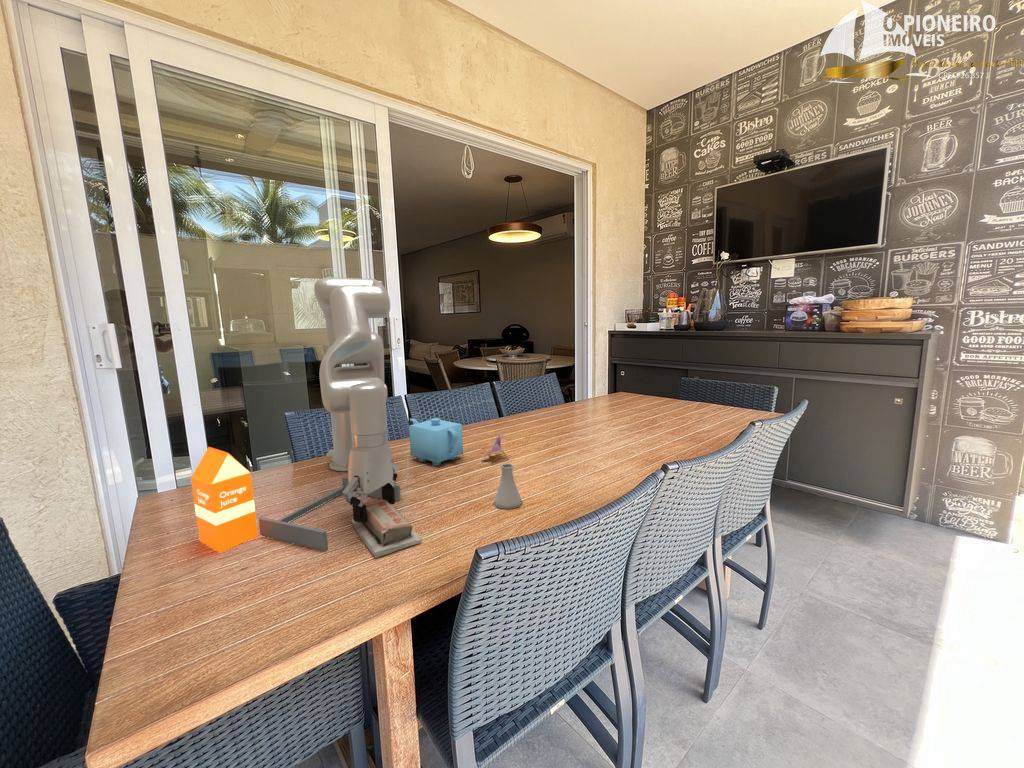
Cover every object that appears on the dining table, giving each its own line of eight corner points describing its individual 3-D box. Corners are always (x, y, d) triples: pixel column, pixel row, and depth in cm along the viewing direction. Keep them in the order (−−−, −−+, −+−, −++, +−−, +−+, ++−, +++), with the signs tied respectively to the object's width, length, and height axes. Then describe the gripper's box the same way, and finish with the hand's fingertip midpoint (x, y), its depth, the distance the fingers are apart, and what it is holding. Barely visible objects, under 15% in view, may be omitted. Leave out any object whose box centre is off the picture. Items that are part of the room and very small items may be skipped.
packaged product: (348, 504, 96) (391, 493, 102) (349, 524, 97) (392, 512, 103) (373, 537, 82) (421, 522, 88) (375, 560, 83) (422, 544, 88)
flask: (492, 498, 110) (491, 461, 108) (520, 496, 110) (519, 459, 109) (494, 510, 103) (493, 471, 101) (523, 509, 103) (523, 469, 102)
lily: (504, 454, 148) (489, 431, 147) (526, 447, 140) (512, 423, 139) (483, 474, 140) (467, 449, 138) (506, 468, 131) (490, 442, 130)
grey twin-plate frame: (260, 536, 92) (258, 518, 92) (345, 490, 116) (344, 476, 115) (324, 551, 86) (323, 532, 85) (400, 499, 109) (399, 485, 109)
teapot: (469, 460, 139) (468, 419, 137) (444, 470, 130) (442, 426, 128) (424, 448, 152) (422, 410, 150) (399, 456, 144) (396, 417, 141)
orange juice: (219, 553, 85) (206, 458, 82) (199, 542, 90) (186, 451, 87) (259, 536, 92) (248, 447, 89) (238, 526, 97) (227, 441, 93)
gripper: (381, 427, 103) (385, 494, 105) (327, 448, 87) (333, 527, 90) (407, 430, 100) (411, 499, 103) (356, 452, 84) (362, 533, 87)
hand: (375, 512), depth 96 cm, fingers open, 9 cm apart
